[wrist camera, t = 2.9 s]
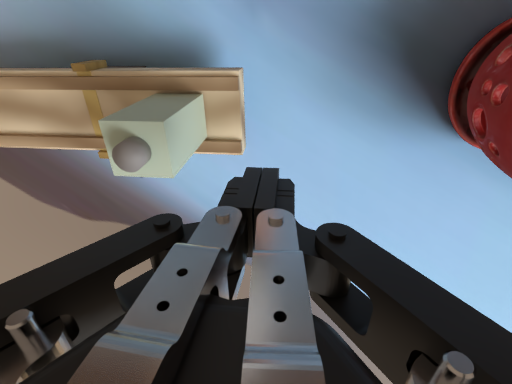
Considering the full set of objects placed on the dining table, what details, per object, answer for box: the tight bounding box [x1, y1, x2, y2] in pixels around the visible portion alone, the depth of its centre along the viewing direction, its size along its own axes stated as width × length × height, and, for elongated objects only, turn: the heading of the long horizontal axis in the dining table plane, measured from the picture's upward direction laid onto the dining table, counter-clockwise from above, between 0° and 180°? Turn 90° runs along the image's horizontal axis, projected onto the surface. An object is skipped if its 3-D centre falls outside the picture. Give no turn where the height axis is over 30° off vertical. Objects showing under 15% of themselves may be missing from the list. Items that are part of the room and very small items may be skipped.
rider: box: [98, 93, 207, 178], centre depth 20 cm, size 4×4×9 cm
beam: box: [0, 60, 246, 159], centre depth 27 cm, size 8×26×8 cm, turn 91°
